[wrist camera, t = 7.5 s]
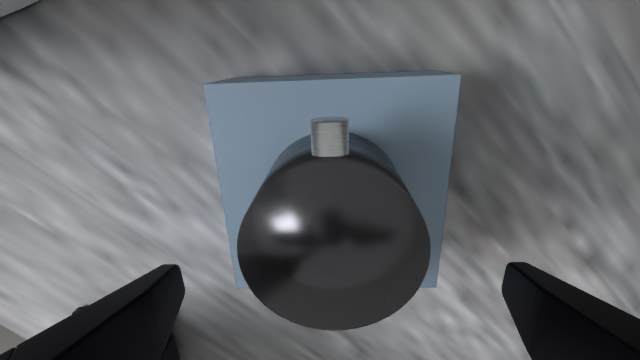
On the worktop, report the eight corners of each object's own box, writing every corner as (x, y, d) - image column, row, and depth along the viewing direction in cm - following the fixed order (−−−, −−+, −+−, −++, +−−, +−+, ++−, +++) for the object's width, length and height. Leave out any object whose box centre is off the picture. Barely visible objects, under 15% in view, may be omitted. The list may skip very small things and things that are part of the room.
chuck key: (385, 233, 19) (420, 351, 11) (284, 235, 19) (252, 351, 11) (391, 93, 16) (443, 126, 8) (271, 98, 16) (217, 133, 8)
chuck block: (254, 244, 20) (236, 288, 16) (232, 77, 16) (203, 84, 12) (416, 243, 19) (436, 287, 16) (430, 70, 16) (461, 74, 12)
